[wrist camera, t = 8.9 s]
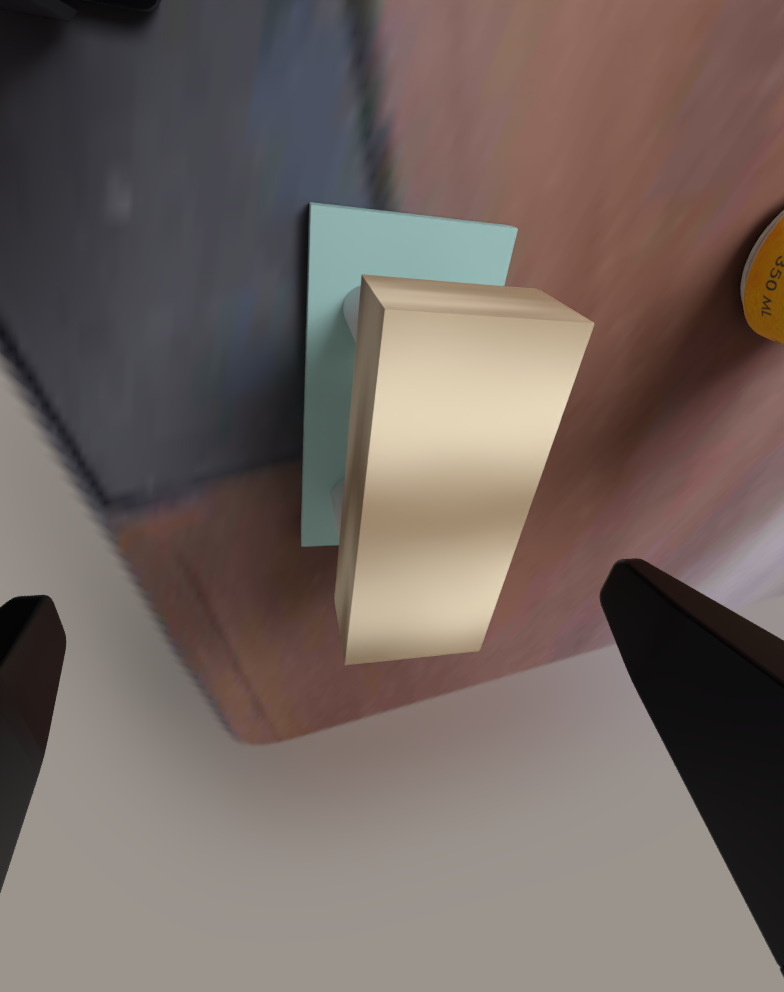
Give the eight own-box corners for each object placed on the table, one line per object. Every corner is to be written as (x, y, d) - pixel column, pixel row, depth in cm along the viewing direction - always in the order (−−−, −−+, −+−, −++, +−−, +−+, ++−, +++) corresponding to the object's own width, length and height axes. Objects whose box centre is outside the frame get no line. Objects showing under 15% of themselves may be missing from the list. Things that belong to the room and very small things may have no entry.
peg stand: (309, 202, 16) (325, 229, 12) (510, 225, 18) (583, 256, 14) (300, 538, 24) (309, 620, 20) (439, 532, 26) (472, 606, 22)
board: (454, 591, 21) (479, 650, 19) (334, 600, 20) (344, 665, 17) (538, 288, 14) (594, 323, 12) (361, 274, 13) (384, 309, 10)
